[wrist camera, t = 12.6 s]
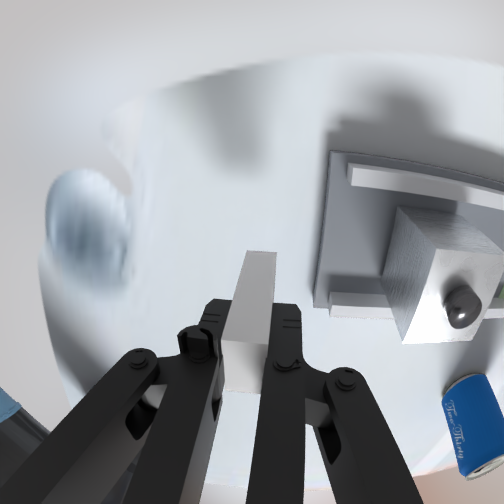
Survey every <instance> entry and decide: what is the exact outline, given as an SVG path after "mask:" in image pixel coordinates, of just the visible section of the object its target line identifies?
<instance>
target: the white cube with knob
mask: <svg viewBox="0 0 504 504" xmlns="http://www.w3.org/2000/svg"><path fill="white" fill-rule="evenodd" d="M503 271H504V252H503V251H502V250H501V249H500V248H499V247H498V246H497V245H496V244H495V243H494V242H492V241H491V240H490V239H489V238H488V237H487V236H486V235H484V234H483V233H482V232H481V231H480V230H478V229H477V228H476V227H475V226H474V225H472V224H471V223H470V222H469V221H467V220H466V219H465V218H464V217H462V216H461V215H458V214H452V213H445V212H439V211H432V210H425V209H418V208H411V207H403V206H397V210H396V216H395V221H394V226H393V231H392V236H391V241H390V245H389V250H388V254H387V258H386V262H385V267H384V271H383V274H382V278H381V282H380V284H381V286H382V289H383V291H384V294H385V296H386V299H387V301H388V304H389V306H390V309H391V312H392V314H393V317H394V320H395V322H396V325H397V328H398V330H399V333H400V336H401V339H402V342H403V343H433V342H454V341H470V340H472V339H473V337H474V336H475V334H476V332H477V330H478V328H479V326H480V324H481V322H482V320H483V318H484V316H485V314H486V312H487V309H488V307H489V305H490V303H491V301H492V298H493V296H494V294H495V291H496V289H497V286H498V284H499V282H500V279H501V276H502V274H503Z"/></svg>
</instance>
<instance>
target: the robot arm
mask: <svg viewBox="0 0 504 504" xmlns="http://www.w3.org/2000/svg"><path fill="white" fill-rule="evenodd" d="M276 257H277V252H262V251H247V252H246V256H245V259H244V262H243V266H242V269H241V273H240V276H239V279H238V283H237V286H236V290H235V293H234V296H233V300H223V299H213V300H212V301H210V302H209V303H208V304H207V305H206V307H205V309H204V312H203V315H202V317H201V319H200V322H199V324H198V325H193V326H189V327H186V328H185V329H183V330H181V331H180V332H179V334H178V335H177V337H178V343H179V348H180V354H178V355H176V356H170V357H159V358H157V356H156V355H155V353H154V352H152V351H151V350H149V349H145V348H137V349H133V350H131V351H129V352H127V353H126V354H125V355H124V356H123V357H122V358H121V359H120V360H119V361H118V362H117V363H116V364H115V365H114V366H113V367H112V368H111V369H110V370H109V371H108V372H107V373H106V374H105V375H104V376H103V378H102V379H101V380H100V381H99V382H98V383H97V384H96V385H95V386H94V387H93V388H92V389H91V390H90V391H89V392H88V393H87V394H86V395H85V396H84V398H83V399H82V400H81V401H80V402H79V403H78V404H77V405H76V406H75V407H74V408H73V409H72V410H71V411H70V413H69V414H68V415H67V416H66V417H65V418H64V419H63V420H62V421H61V422H60V423H59V424H58V425H57V427H56V428H55V429H54V430H53V431H52V432H50V431H49V430H47V429H46V428H45V427H44V426H43V425H41V424H40V423H39V422H38V421H37V420H36V419H34V418H33V417H32V416H31V415H30V414H29V413H28V412H27V411H26V410H24V409H23V408H22V407H21V404H20V403H19V402H16V401H15V400H13V399H12V398H11V397H10V396H9V395H8V394H7V393H6V392H5V391H4V390H3V389H2V388H1V387H0V504H199V502H200V498H201V493H202V489H203V485H204V481H205V476H206V472H207V468H208V463H209V459H210V454H211V450H212V446H213V441H214V437H215V433H216V428H217V424H218V420H219V415H220V411H221V406H222V391H223V387H224V388H225V391H234V392H243V393H253V394H261V397H260V405H259V413H258V421H257V428H256V436H255V443H254V450H253V457H252V464H251V471H250V478H249V485H248V491H247V498H246V504H303V497H304V473H305V423H306V424H309V425H312V426H313V429H314V432H315V436H316V439H317V442H318V445H319V449H320V452H321V455H322V458H323V461H324V465H325V468H326V471H327V474H328V478H329V481H330V484H331V487H332V491H333V494H334V497H335V500H336V503H337V504H423V501H422V499H421V496H420V494H419V492H418V490H417V487H416V485H415V483H414V480H413V478H412V476H411V474H410V471H409V469H408V467H407V465H406V463H405V460H404V458H403V456H402V454H401V452H400V450H399V448H398V445H397V443H396V441H395V439H394V437H393V435H392V433H391V431H390V429H389V427H388V425H387V422H386V420H385V418H384V416H383V414H382V412H381V410H380V408H379V406H378V404H377V402H376V400H375V398H374V396H373V394H372V392H371V390H370V388H369V386H368V384H367V382H366V380H365V378H364V377H363V376H362V375H361V373H360V372H358V371H356V370H355V369H352V368H348V367H339V368H336V369H334V370H332V371H331V372H330V373H326V372H322V371H319V370H316V369H314V368H312V367H311V366H309V365H308V364H307V363H306V362H305V360H304V358H303V354H302V322H301V311H300V309H299V308H298V306H297V305H296V304H284V303H273V302H274V288H275V273H276Z"/></svg>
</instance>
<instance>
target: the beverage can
mask: <svg viewBox="0 0 504 504" xmlns="http://www.w3.org/2000/svg"><path fill="white" fill-rule="evenodd" d="M442 406H443V410H444V413H445V416H446V420H447V423H448V427H449V430H450V434H451V438H452V442H453V446H454V450H455V454H456V458H457V462H458V467H459V472H460V473H461V474H462V475H463V476H465V480H466V481H469V480H473V479H476V478H478V477H481V476H483V475H485V474H487V473H489V472H491V471H492V470H494V469H496V468H497V467H499V466H500V465H502V464H503V463H504V417H503V414H502V412H501V409H500V407H499V404H498V402H497V400H496V397H495V395H494V393H493V390H492V388H491V386H490V383H489V381H488V379H487V377H486V376H485V375H484V374H469V375H466V376H464V377H462V378H460V379H459V380H457V381H456V382H454V383H453V384H452V385H451V386H450V387H449V388H448V390H447V392H446V394H445V395H444V396H443V398H442Z"/></svg>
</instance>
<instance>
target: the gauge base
mask: <svg viewBox="0 0 504 504" xmlns="http://www.w3.org/2000/svg"><path fill="white" fill-rule="evenodd" d="M397 206H403V207H411V208H418V209H425V210H432V211H439V212H445V213H452V214H458V215H461V216H462V217H464V218H465V219H466V220H467V221H469V222H470V223H471V224H472V225H474V226H475V227H476V228H477V229H478V230H480V231H481V232H482V233H483V234H484V235H486V236H487V237H488V238H489V239H490V240H491V241H492V242H494V243H495V244H496V245H497V246H498V247H499V248H500V249H501V250H502V251H503V252H504V183H502V182H498V181H495V180H491V179H488V178H484V177H480V176H476V175H472V174H468V173H464V172H460V171H456V170H451V169H447V168H442V167H437V166H433V165H428V164H422V163H417V162H412V161H406V160H400V159H394V158H388V157H381V156H374V155H367V154H359V153H351V152H342V151H333V150H330V153H329V167H328V179H327V190H326V200H325V210H324V219H323V228H322V236H321V245H320V252H319V260H318V267H317V275H316V281H315V288H314V295H313V307H314V308H327V309H329V315H330V317H340V318H363V319H394V317H393V314H392V312H391V309H390V306H389V304H388V301H387V299H386V296H385V294H384V291H383V289H382V286H381V284H380V282H381V278H382V274H383V271H384V267H385V262H386V258H387V254H388V250H389V245H390V241H391V236H392V231H393V226H394V221H395V216H396V210H397ZM490 318H504V271H503V274H502V276H501V279H500V282H499V284H498V286H497V289H496V291H495V294H494V296H493V298H492V301H491V303H490V305H489V307H488V309H487V312H486V314H485V316H484V318H483V319H490Z"/></svg>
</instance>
